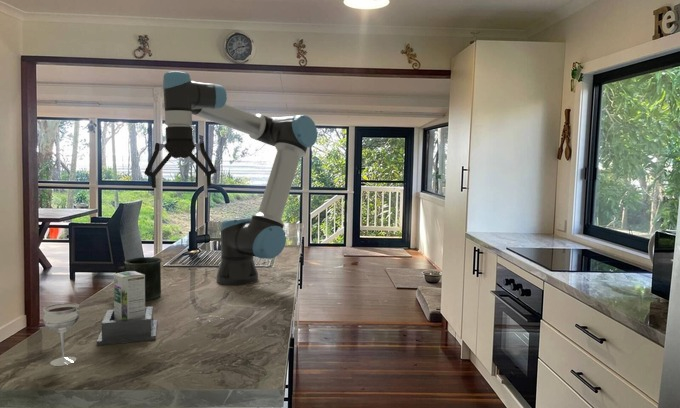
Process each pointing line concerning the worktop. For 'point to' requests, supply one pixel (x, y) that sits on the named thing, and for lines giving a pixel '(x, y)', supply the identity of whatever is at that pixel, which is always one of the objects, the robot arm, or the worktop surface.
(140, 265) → the mug
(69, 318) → the wineglass
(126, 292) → the syrup box
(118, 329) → the socket block
